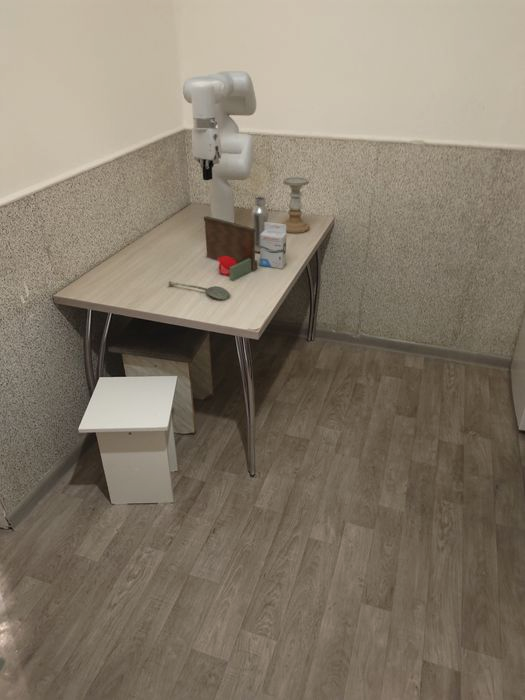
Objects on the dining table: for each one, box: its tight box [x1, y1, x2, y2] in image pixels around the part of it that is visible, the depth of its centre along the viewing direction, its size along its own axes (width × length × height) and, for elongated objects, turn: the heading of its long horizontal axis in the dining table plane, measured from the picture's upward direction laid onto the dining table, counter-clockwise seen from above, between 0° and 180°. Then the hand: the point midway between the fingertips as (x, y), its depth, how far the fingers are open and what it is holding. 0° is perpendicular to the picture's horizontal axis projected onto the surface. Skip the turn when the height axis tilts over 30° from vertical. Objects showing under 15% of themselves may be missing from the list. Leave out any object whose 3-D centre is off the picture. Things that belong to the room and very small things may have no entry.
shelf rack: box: [203, 215, 258, 281], centre depth 178 cm, size 23×13×15 cm, turn 52°
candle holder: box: [281, 176, 310, 234], centre depth 211 cm, size 12×12×20 cm
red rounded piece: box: [216, 256, 238, 276], centre depth 176 cm, size 8×6×6 cm
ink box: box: [259, 221, 288, 270], centre depth 180 cm, size 8×5×15 cm, turn 71°
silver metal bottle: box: [250, 196, 269, 253], centre depth 190 cm, size 6×7×20 cm
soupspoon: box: [168, 280, 230, 301], centre depth 165 cm, size 22×3×7 cm
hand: (207, 179), depth 180 cm, fingers closed
